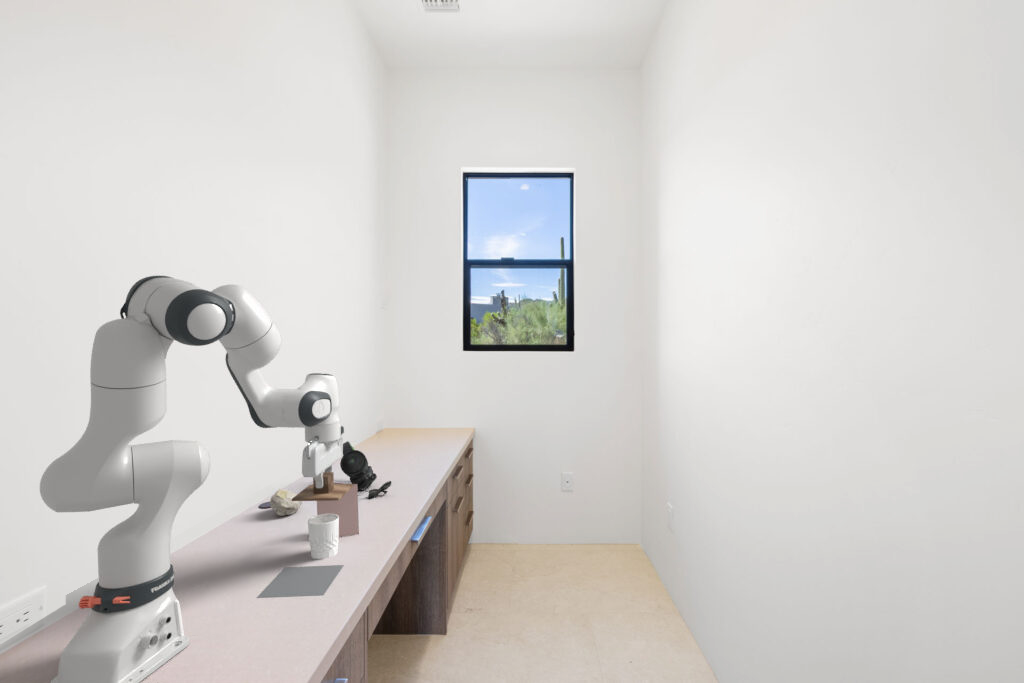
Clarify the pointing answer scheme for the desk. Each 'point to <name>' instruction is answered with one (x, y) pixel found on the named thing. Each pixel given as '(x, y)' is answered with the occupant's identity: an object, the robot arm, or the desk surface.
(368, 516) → the desk surface
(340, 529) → the greeting card
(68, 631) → the desk surface
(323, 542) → the white cup
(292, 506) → the fossil replica
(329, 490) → the walnut lid
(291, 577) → the rubber mat
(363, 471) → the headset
